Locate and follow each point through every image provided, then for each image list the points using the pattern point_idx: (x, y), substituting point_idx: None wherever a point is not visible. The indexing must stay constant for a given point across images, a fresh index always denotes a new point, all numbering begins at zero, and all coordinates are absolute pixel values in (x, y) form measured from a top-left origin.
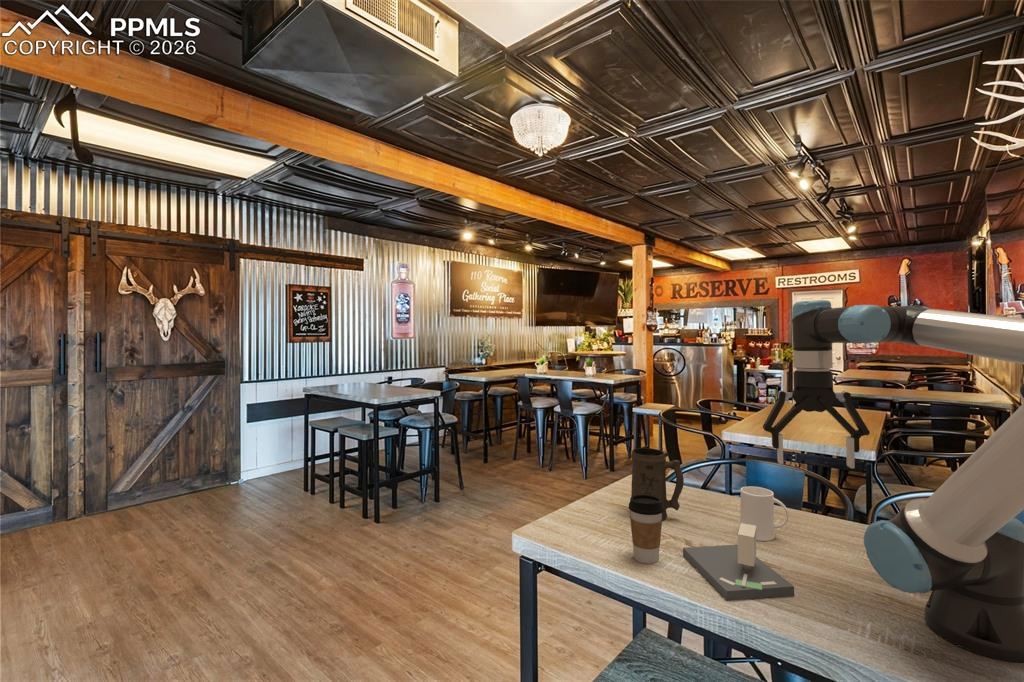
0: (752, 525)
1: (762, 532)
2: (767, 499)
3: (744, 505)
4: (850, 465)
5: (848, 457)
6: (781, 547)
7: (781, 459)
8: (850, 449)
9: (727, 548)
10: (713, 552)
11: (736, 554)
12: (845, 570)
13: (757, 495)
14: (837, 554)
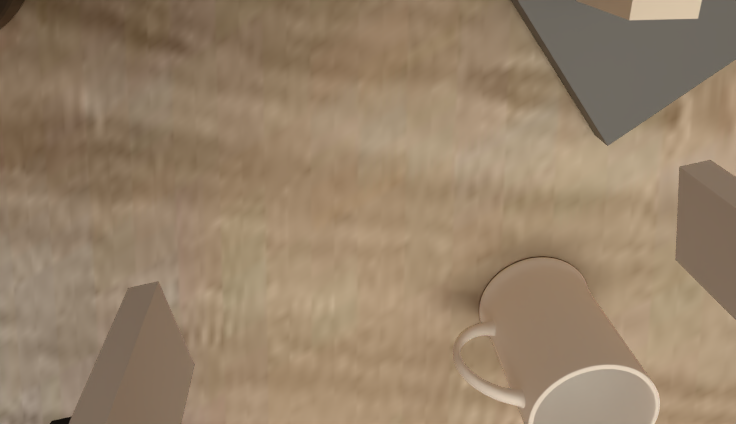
0: (647, 14)
1: (526, 279)
2: (550, 371)
3: (622, 339)
4: (153, 296)
5: (159, 378)
6: (459, 245)
7: (719, 180)
8: (109, 405)
9: (656, 83)
10: (711, 16)
11: (627, 45)
12: (270, 174)
13: (597, 368)
14: (294, 280)
